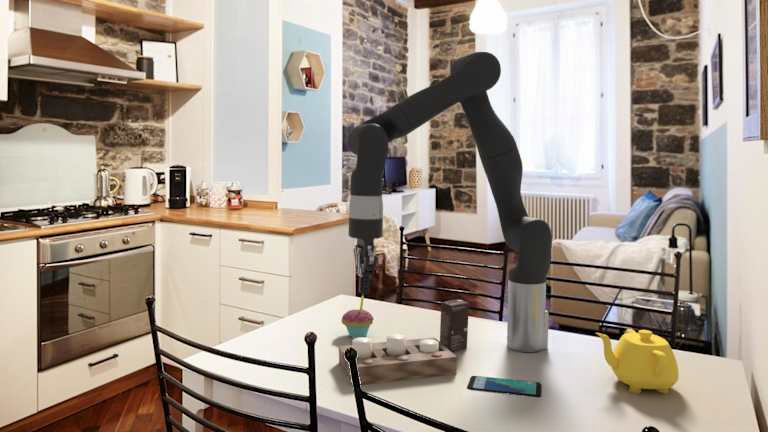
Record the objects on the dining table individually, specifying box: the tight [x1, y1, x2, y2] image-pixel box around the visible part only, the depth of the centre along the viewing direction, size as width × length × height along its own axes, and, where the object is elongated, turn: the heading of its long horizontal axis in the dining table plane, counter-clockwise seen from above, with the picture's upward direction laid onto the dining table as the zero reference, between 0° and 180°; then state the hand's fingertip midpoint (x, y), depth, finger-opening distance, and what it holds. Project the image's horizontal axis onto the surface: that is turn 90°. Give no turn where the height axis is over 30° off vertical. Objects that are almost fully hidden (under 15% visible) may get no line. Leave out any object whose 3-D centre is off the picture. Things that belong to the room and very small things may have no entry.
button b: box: [386, 333, 407, 357], centre depth 128 cm, size 4×4×4 cm
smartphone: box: [466, 375, 542, 398], centre depth 118 cm, size 7×1×15 cm
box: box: [439, 298, 470, 352], centre depth 142 cm, size 6×4×12 cm
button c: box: [351, 336, 373, 360], centre depth 126 cm, size 4×4×4 cm
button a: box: [420, 339, 440, 353], centre depth 131 cm, size 4×4×4 cm
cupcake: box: [341, 294, 375, 339], centre depth 152 cm, size 9×8×12 cm
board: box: [338, 337, 458, 387], centre depth 129 cm, size 24×14×4 cm, turn 105°
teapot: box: [595, 328, 680, 394], centre depth 119 cm, size 14×14×12 cm
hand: (364, 293), depth 125 cm, fingers closed
